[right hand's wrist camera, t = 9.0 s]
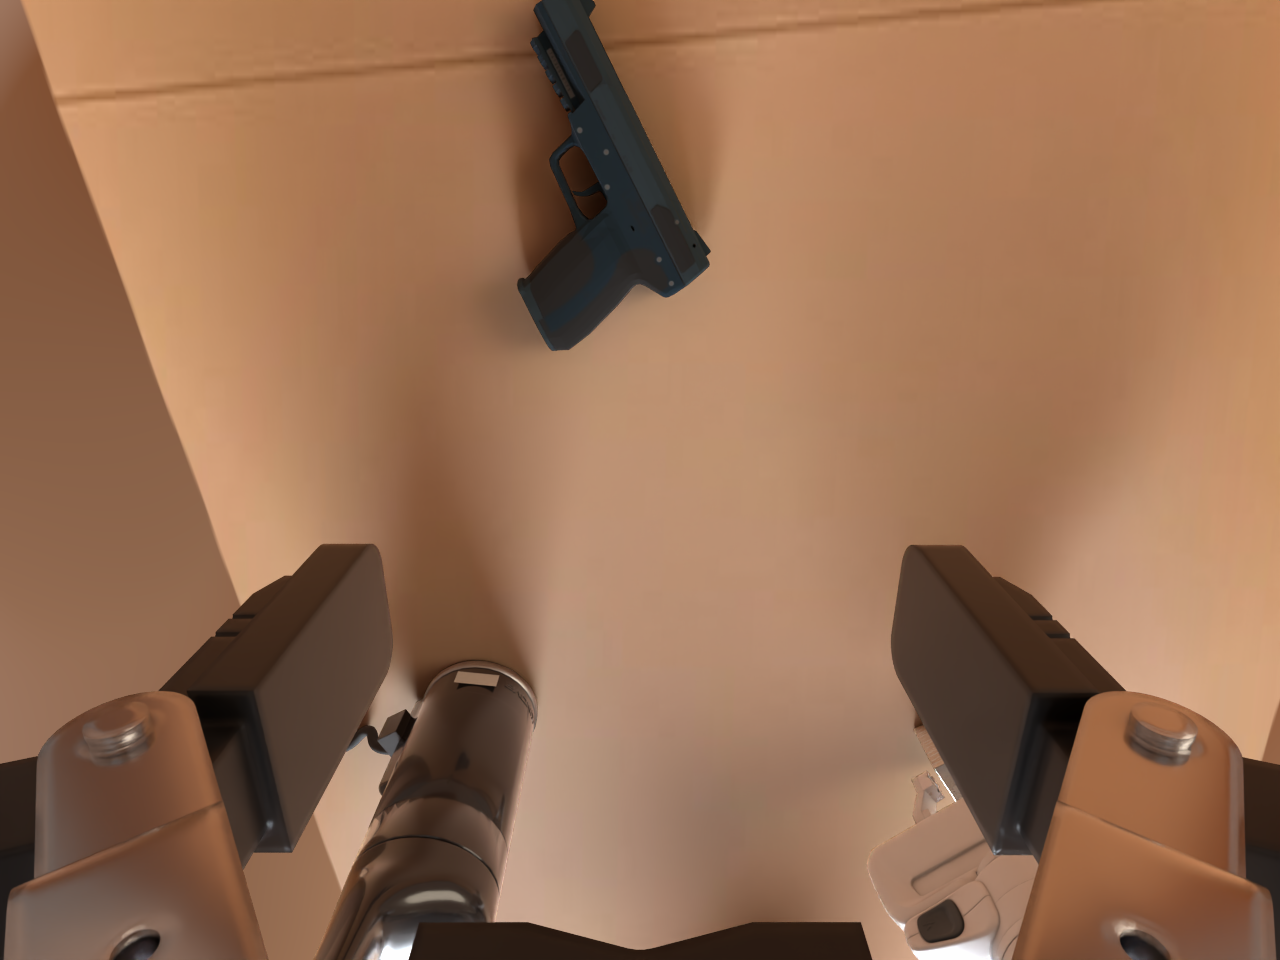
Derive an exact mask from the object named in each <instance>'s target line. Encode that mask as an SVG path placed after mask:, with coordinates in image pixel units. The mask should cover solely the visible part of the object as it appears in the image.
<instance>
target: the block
mask: <svg viewBox="0 0 1280 960" xmlns="http://www.w3.org/2000/svg"><path fill="white" fill-rule="evenodd" d="M914 731H915V733H916V735H917V737H918V739H919V741H920V743H921V745H922V747H923V749H924V751H925V753H926V754H927V756H928V758H929V760H930V762H931V764H932V766H933V768H934V770H935V771H936V773H937V774H938V776H939V777H940V779H941V780H942V782H943V783H944V785H945V786H946V788H947V789H948V791H949V792H950V794H951V795H952V797H953V798H954V800H955V801H957V800H959V799H961V798H963V797H962V795H961V793H960V792H959V790H958V788H957V786H956V784H955V782H954V780H953V779H952V777H951V775H950V773H949V771H948V769H947V767H946V766H945V764H944V762H943V760H942V758H941V756H940V754H939V753H938V751H937V749H936V747H935V745H934V743H933V741H932V740H931V738H930V736H929V734H928V732H927V730H926V728H925V726H924V725H921V726H919V727H917V728H915V729H914Z"/></svg>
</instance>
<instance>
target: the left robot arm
mask: <svg viewBox="0 0 1280 960" xmlns="http://www.w3.org/2000/svg"><path fill="white" fill-rule="evenodd" d="M912 782H913V785H914V787H915V789H916V791H917V793H918V794H917V795H916V800H915V806H914V811H913V818H914V820H915V823H916V824H915V825H914V826H912V827H910V828H908V829H907V830H905V831H903V832H901V833H900V834H898V835H896V836H894V837H893V838H891V839H889V840H887V841H886V842H884V843H882V844H880V845H878V846H877V847H875V848H873V849H872V850H871V852H870V855H869V859H868V862H867V870H868V873H869V876H870V878H871V881H872V883H873V886H874V888H875V890H876V892H877V895H878V897H879V899H880V901H881V903H882V904H883V906H884V908H885V910H886V912H887V913H888V915H889V916H890V917H891V918H892V919H893V920H894V921H895V923H896V924H897V925H898V926H899V927H900V928H901V929H902V930H903V931H904V933H905V938H906V941H907V943H908V946H909V947H910V949H911V950H912V952H913V953H914V954H915V956H916V957H917V958H918V960H1011V959H1012V956H1013V952H1014V949H1015V945H1016V942H1017V938H1018V935H1019V931H1020V928H1021V924H1022V921H1023V917H1024V914H1025V910H1026V907H1027V903H1028V900H1029V896H1030V893H1031V889H1032V886H1033V882H1034V879H1035V875H1036V872H1037V869H1038V863H1037V861H1036V860H1035V858H1034V856H1033V855H993V853H992V851H991V849H990V847H989V846H988V844H987V842H986V840H985V838H984V836H983V834H982V833H981V831H980V829H979V827H978V825H977V823H976V821H975V820H974V818H973V816H972V814H971V812H970V810H969V808H968V806H967V805H966V803H965V801H964V799H963V798H961V799H959V800H957V801H956V802H954V803H952V804H950V805H949V806H947V807H945V808H943V809H942V810H940V811H938V812H936V805H937V802H938V801H940V800H942V799H943V798H945V797H944V795H943V793H942V791H941V790H940V789H939V785H938V784H937V782H936V780H935V779H934V778H933V777H932V776H931V775H930V773H929V772H928V771H925V772H923V773H922V774H920V775H918V776H916V777H915V778H913V779H912Z"/></svg>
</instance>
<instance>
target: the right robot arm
mask: <svg viewBox="0 0 1280 960" xmlns="http://www.w3.org/2000/svg"><path fill="white" fill-rule="evenodd" d="M392 648H393V635H392V627H391V620H390V613H389V606H388V599H387V593H386V586H385V579H384V572H383V565H382V559H381V555H380V552H379V550H378V548H377V547H376V546H375V545H374V544H322V545H320V546H319V547H318V548H317V549H316V550H315V551H314V552H313V553H312V555H311V556H310V557H309V558H308V559H307V560H306V561H305V562H304V563H303V564H302V565H301V567H300V568H299V569H298V570H297V571H296V572H295V573H294V574H293V575H292V576H283V577H282V578H280V579H278V580H276V581H275V582H273V583H271V584H269V585H268V586H266V587H264V588H262V589H261V590H259V591H257V592H255V593H253V594H252V595H251V596H250V597H249V599H248V600H247V601H246V602H245V603H244V604H243V605H242V606H241V607H240V608H239V609H238V610H237V611H236V612H235V613H234V614H233V618H232V619H228V620H227V621H226V622H225V623H224V624H223V625H222V626H221V627H220V628H219V629H218V630H217V631H216V636H215V637H211V638H210V639H209V640H208V641H207V642H206V643H205V644H204V645H203V646H202V647H201V648H200V649H199V650H198V651H197V652H196V653H195V654H194V655H193V656H192V657H191V658H190V659H189V660H188V661H187V662H186V663H185V664H184V665H183V666H182V667H181V668H180V669H179V670H178V671H177V672H176V673H175V674H174V675H173V676H172V677H171V678H170V680H168V682H167V683H166V684H165V685H164V686H163V687H162V688H161V689H160V690H159V691H152V692H144V693H138V694H133V695H128V696H125V697H121V698H118V699H115V700H112V701H109V702H106V703H104V704H101V705H99V706H97V707H95V708H92V709H90V710H88V711H86V712H84V713H83V714H81V715H79V716H77V717H76V718H74V719H72V720H71V721H69V722H68V723H66V724H65V725H64V726H62V727H61V728H60V729H59V730H57V731H56V732H55V733H54V734H53V735H52V736H51V737H50V738H49V739H48V740H47V742H46V743H45V744H44V745H43V747H42V749H41V750H40V752H39V754H38V756H36V757H32V758H27V759H22V760H17V761H12V762H7V763H2V764H0V960H269V959H268V956H267V952H266V949H265V945H264V942H263V938H262V935H261V931H260V928H259V924H258V921H257V917H256V914H255V910H254V907H253V903H252V900H251V896H250V893H249V890H248V886H247V882H246V879H245V875H244V872H243V869H244V868H245V866H246V864H247V862H248V861H249V859H250V857H251V856H252V854H253V853H254V852H255V853H257V852H259V853H260V852H264V853H265V852H266V853H267V852H268V853H270V852H271V853H275V852H276V853H277V852H279V853H281V852H282V853H285V852H289V853H291V852H293V850H294V848H295V846H296V844H297V842H298V840H299V838H300V837H301V835H302V833H303V831H304V829H305V827H306V825H307V823H308V821H309V820H310V818H311V816H312V814H313V812H314V810H315V808H316V806H317V805H318V803H319V801H320V799H321V797H322V795H323V793H324V791H325V789H326V788H327V786H328V784H329V782H330V780H331V778H332V776H333V774H334V773H335V771H336V769H337V767H338V765H339V763H340V761H341V759H342V757H343V756H344V754H345V752H346V751H349V750H350V749H352V748H354V747H355V746H356V745H357V744H358V743H359V742H360V741H361V740H362V739H363V738H364V737H365V736H367V738H368V743H369V746H370V747H371V749H372V750H374V751H375V752H377V753H380V754H386V755H390V756H391V760H390V762H389V764H388V766H387V769H386V771H385V773H384V775H383V778H382V780H381V782H380V785H379V792H380V794H381V795H382V798H381V800H380V802H379V805H378V807H377V809H376V812H375V814H374V816H373V819H372V821H371V823H370V826H369V828H368V831H367V833H366V835H365V838H364V840H363V842H362V845H361V847H360V849H359V852H358V854H357V856H356V859H355V861H354V863H353V866H352V868H351V870H350V873H349V875H348V877H347V880H346V882H345V885H344V887H343V890H342V892H341V895H340V897H339V900H338V902H337V905H336V907H335V910H334V912H333V915H332V917H331V920H330V922H329V925H328V927H327V929H326V932H325V934H324V936H323V939H322V941H321V943H320V945H319V948H318V950H317V952H316V955H315V956H314V959H313V960H872V957H871V954H870V951H869V948H868V944H867V941H866V938H865V934H864V931H863V928H862V925H861V922H752V923H748V924H744V925H740V926H737V927H733V928H729V929H725V930H721V931H717V932H713V933H710V934H706V935H702V936H698V937H694V938H690V939H687V940H683V941H679V942H675V943H671V944H667V945H664V946H660V947H656V948H652V949H646V950H634V949H628V948H624V947H620V946H616V945H613V944H609V943H605V942H601V941H597V940H593V939H590V938H586V937H582V936H578V935H574V934H570V933H567V932H563V931H559V930H555V929H551V928H547V927H543V926H540V925H536V924H532V923H528V922H495V920H496V915H497V910H498V904H499V900H500V895H501V890H502V885H503V880H504V875H505V870H506V865H507V859H508V854H509V849H510V844H511V839H512V834H513V829H514V824H515V819H516V814H517V809H518V804H519V799H520V794H521V789H522V784H523V779H524V774H525V769H526V764H527V759H528V754H529V749H530V744H531V739H532V734H533V731H534V729H535V725H536V721H537V715H538V706H537V701H536V698H535V695H534V693H533V691H532V689H531V688H530V686H529V685H528V684H527V682H526V681H525V680H524V679H523V678H522V677H521V676H519V675H518V674H517V673H515V672H514V671H512V670H510V669H509V668H506V667H504V666H502V665H499V664H496V663H492V662H487V661H467V662H461V663H458V664H455V665H452V666H450V667H448V668H446V669H444V670H443V671H441V672H440V673H439V674H438V675H436V677H435V678H434V679H433V680H432V681H431V683H430V684H429V686H428V688H427V690H426V693H425V695H424V698H423V699H421V700H419V701H417V702H416V703H415V706H414V708H413V710H412V712H411V715H410V714H409V712H408V711H407V710H406V709H405V710H403V711H401V712H399V713H397V714H395V715H393V716H391V717H388V718H387V720H386V722H385V724H384V727H383V729H382V731H381V733H380V735H379V737H378V733H377V731H376V729H375V728H374V727H373V726H364V727H362V728H360V729H359V730H358V731H357V729H358V727H359V725H360V724H361V722H362V720H363V718H364V716H365V714H366V712H367V710H368V709H369V707H370V705H371V703H372V701H373V699H374V697H375V695H376V693H377V692H378V690H379V688H380V686H381V684H382V682H383V680H384V678H385V677H386V674H387V672H388V669H389V666H390V662H391V657H392ZM891 652H892V659H893V664H894V668H895V671H896V674H897V676H898V678H899V680H900V682H901V684H902V686H903V687H904V689H905V691H906V693H907V695H908V697H909V699H910V700H911V702H912V704H913V706H914V708H915V710H916V712H917V713H918V715H919V717H920V719H921V721H922V723H923V725H924V726H925V728H926V730H927V732H928V734H929V736H930V738H931V740H932V741H933V743H934V745H935V747H936V749H937V751H938V753H939V754H940V756H941V758H942V760H943V762H944V764H945V766H946V767H947V769H948V771H949V773H950V775H951V777H952V779H953V780H954V782H955V784H956V786H957V788H958V790H959V792H960V793H961V795H962V797H963V799H964V801H965V803H966V805H967V806H968V808H969V810H970V812H971V814H972V816H973V818H974V820H975V821H976V823H977V825H978V827H979V829H980V831H981V833H982V834H983V836H984V838H985V840H986V842H987V844H988V846H989V847H990V849H991V851H992V853H993V855H1033V856H1034V858H1035V860H1036V861H1037V863H1038V869H1037V872H1036V875H1035V879H1034V882H1033V886H1032V889H1031V893H1030V896H1029V900H1028V903H1027V907H1026V910H1025V914H1024V917H1023V921H1022V924H1021V928H1020V931H1019V935H1018V938H1017V942H1016V945H1015V949H1014V952H1013V956H1012V959H1011V960H1280V765H1277V764H1272V763H1268V762H1263V761H1258V760H1253V759H1248V758H1244V757H1242V754H1241V752H1240V750H1239V748H1238V747H1237V745H1236V744H1235V743H1234V742H1233V740H1232V739H1231V738H1230V737H1229V736H1228V735H1227V734H1226V733H1225V732H1224V731H1223V730H1221V729H1220V728H1219V727H1218V726H1216V725H1215V724H1214V723H1212V722H1211V721H1209V720H1208V719H1206V718H1204V717H1203V716H1201V715H1199V714H1197V713H1196V712H1194V711H1192V710H1190V709H1188V708H1185V707H1183V706H1181V705H1179V704H1176V703H1174V702H1171V701H1168V700H1165V699H1162V698H1159V697H1155V696H1152V695H1147V694H1142V693H1136V692H1128V691H1126V690H1125V689H1124V688H1123V687H1122V686H1121V685H1120V684H1119V683H1118V682H1117V681H1116V680H1115V679H1114V678H1113V677H1112V676H1111V675H1110V674H1109V673H1108V672H1107V671H1106V670H1105V669H1104V668H1103V667H1102V666H1101V665H1100V664H1099V663H1098V662H1097V661H1096V660H1095V659H1094V658H1093V657H1092V656H1091V655H1090V654H1089V653H1088V652H1087V651H1086V650H1085V649H1084V648H1083V647H1082V646H1081V645H1080V644H1079V643H1078V642H1077V641H1076V640H1075V639H1074V638H1070V633H1069V632H1068V631H1067V630H1066V629H1065V628H1064V627H1063V626H1062V625H1061V624H1060V623H1059V622H1058V621H1057V620H1053V619H1052V615H1051V614H1050V613H1049V612H1048V611H1047V610H1046V609H1045V608H1044V607H1043V606H1042V605H1041V604H1040V603H1039V602H1038V601H1037V600H1036V599H1035V598H1034V597H1033V596H1032V595H1031V594H1029V593H1027V592H1025V591H1024V590H1022V589H1020V588H1018V587H1017V586H1015V585H1013V584H1011V583H1010V582H1008V581H1006V580H1004V579H1002V578H1001V577H992V576H991V575H990V573H989V572H988V571H987V570H986V569H985V568H984V567H983V566H982V565H981V564H980V563H979V562H978V561H977V559H976V558H975V557H974V556H973V555H972V554H971V553H970V552H969V551H968V550H967V549H966V548H965V547H964V546H962V545H910V546H909V547H908V548H907V549H906V551H905V553H904V556H903V560H902V566H901V573H900V580H899V586H898V593H897V600H896V606H895V613H894V620H893V627H892V634H891ZM356 731H357V732H356Z"/></svg>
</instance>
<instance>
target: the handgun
mask: <svg viewBox="0 0 1280 960" xmlns="http://www.w3.org/2000/svg"><path fill="white" fill-rule="evenodd" d="M594 8H595V3H594V1H593V0H542V1H540V2H539V3H537V4H536V6H535V8H534V12H535V14H536V16H537V18H538V20H539V22H540V24H541V26H542V28H543V32H542V33H541V34H540V35H539V36H538V37H535V38H532V40H531V42H530V44H531V46H532V48H533V49H534V51H535V52H536V54H537V55H538V59H539V61H540V63H541V65H542V66H543V67H544V69H545V70H546V71H545V73H546V75H547V77H548V78H549V80H550V81H551V83H552V84H554V83H555V84H554V85H553V88H554V90H555V92H556V93H557V95H558V96H559V97H563V96H564V97H563V98H562V99H561V100H560V102H561V104H562V105H563V107H564V109H565V110H566V111H570V110H571V112H570V113H568V118H569V121H570V123H571V128H572V133H571V136H570V137H569V138H568V139H567V140H566V141H565V142H564V143H563V144H562V145H560V146H559V147H558V148H557V149H556V150H555V151H554V152H553V153H552V155H551V157H550V159H549V161H550V166H551V169H552V171H553V173H554V175H555V177H556V180H557V182H558V184H559V186H560V188H561V191H562V193H563V195H564V197H565V199H566V202H567V204H568V206H569V208H570V211H571V214H572V217H573V219H574V222H575V225H576V230H575V231H573V232H571V233H569V234H568V235H567V236H566V237H565V238H564V239H562V240H561V241H560V242H559V243H558V244H557V245H556V247H555V248H554V249H553V250H552V251H551V252H550V253H549V254H548V255H547V256H546V257H545V258H544V259H543V261H542V262H541V263H540V264H539V265H538V266H537V267H536V268H535V269H534V271H533V272H532V273H531V274H530V275H529V276H528V277H527V278H526V279H525V278H520V279H519V280H518V283H517V287H518V290H519V292H520V294H521V296H522V298H523V300H524V302H525V304H526V306H527V308H528V310H529V312H530V314H531V316H532V318H533V320H534V322H535V324H536V326H537V328H538V330H539V331H540V333H541V335H542V337H543V339H544V340H545V342H546V344H547V345H548V347H549V348H550V349H551V350H552V351H557V350H569V349H571V348H572V347H573V346H575V345H576V344H577V343H579V342H580V341H581V340H582V339H584V338H585V337H586V336H588V335H589V334H590V333H591V332H592V331H593V330H594V329H595V328H596V327H597V326H598V325H599V324H600V323H601V322H602V321H603V320H604V319H605V318H606V317H607V316H608V315H609V314H610V313H611V312H612V311H613V310H614V309H615V308H616V307H617V306H618V304H619V303H620V302H621V301H622V300H623V299H624V297H625V296H626V295H627V294H628V293H629V291H630V290H631V289H632V288H633V287H634V286H635V285H638V284H642V285H644V286H646V287H648V288H650V289H651V290H653V291H655V292H656V293H658V294H659V295H661V296H663V297H670V296H672V295H674V294H675V293H677V292H678V291H680V290H681V289H683V288H684V287H685V286H687V285H688V284H690V283H691V282H692V281H693V280H694V279H695V278H697V277H698V276H699V275H700V274H701V273H702V272H703V271H705V270H706V269H707V268H708V267H709V261H708V259H707V257H706V256H707V255H708V254H709V253H710V252H711V251H710V249H709V248H708V247H707V245H706V244H705V242H704V241H703V240H702V238H701V237H700V236H699V234H698V233H697V231H695V230H693V228H692V226H691V224H690V222H689V220H688V218H687V216H686V214H685V212H684V210H683V208H682V206H681V204H680V202H679V200H678V198H677V196H676V194H675V192H674V190H673V188H672V186H671V184H670V182H669V180H668V178H667V176H666V173H665V171H664V169H663V167H662V165H661V163H660V161H659V159H658V157H657V155H656V153H655V151H654V149H653V147H652V145H651V143H650V141H649V139H648V137H647V135H646V133H645V131H644V128H643V126H642V124H641V122H640V120H639V118H638V116H637V114H636V112H635V110H634V108H633V106H632V104H631V102H630V100H629V98H628V96H627V94H626V92H625V90H624V88H623V86H622V84H621V82H620V80H619V78H618V76H617V74H616V72H615V70H614V68H613V66H612V64H611V62H610V60H609V58H608V56H607V54H606V52H605V50H604V47H603V45H602V43H601V41H600V39H599V37H598V35H597V33H596V31H595V29H594V27H593V25H592V23H591V21H590V19H589V16H590V14H591V13H592V11H593V9H594ZM573 146H577V147H579V148H581V149H582V150H583V152H584V153H585V155H586V157H587V159H588V161H589V163H590V165H591V167H592V169H593V171H594V173H595V174H596V176H597V178H598V180H599V182H600V183H599V182H597V183H596V184H594V185H593V186H591V187H590V188H588V189H587V190H585V191H583V192H575V191H572V192H573V194H574V195H577V196H590V195H592V194H594V193H596V192H598V191H601V192H602V193H603V195H604V197H605V199H606V200H607V204H606V207H605V208H604V209H603V210H602V211H601V212H600V213H599V214H598V215H596V216H595V217H594V218H593V219H588V218H587V217H586V216H585V215H583V213H582V212H581V211H580V209H579V208H578V206H577V204H576V202H575V199H574V197H573V195H572V193H571V190H570V188H569V186H568V184H567V182H566V179H565V177H564V175H563V173H562V170H561V168H560V166H559V160H560V158H561V157H562V155H563V154H565V153H566V152H567V151H568V150H569V149H570V148H572V147H573Z"/></svg>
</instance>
